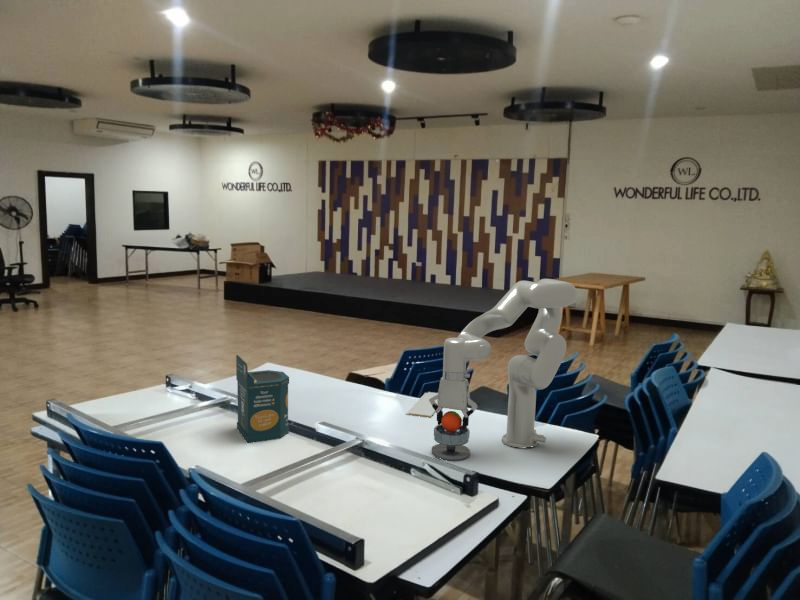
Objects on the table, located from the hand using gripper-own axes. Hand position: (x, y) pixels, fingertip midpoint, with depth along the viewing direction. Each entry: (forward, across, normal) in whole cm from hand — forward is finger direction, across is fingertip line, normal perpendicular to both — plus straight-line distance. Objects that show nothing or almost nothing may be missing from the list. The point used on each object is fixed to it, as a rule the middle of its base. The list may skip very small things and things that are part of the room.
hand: (452, 425), depth 206 cm
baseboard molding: (+11, +26, -46) cm, 54 cm away
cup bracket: (+10, 0, 0) cm, 10 cm away
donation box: (+10, +67, +12) cm, 69 cm away
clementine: (+2, 0, 0) cm, 2 cm away
